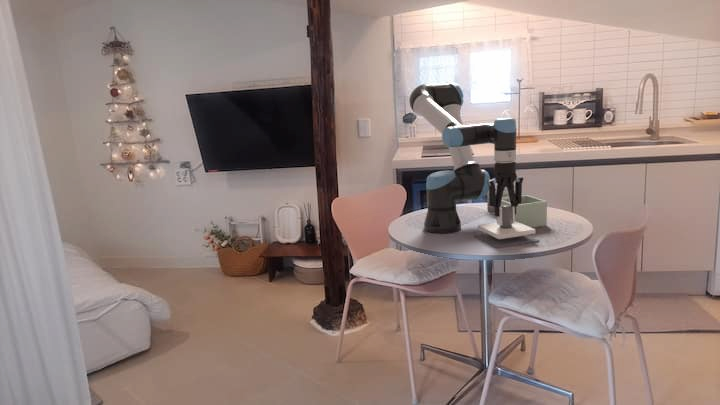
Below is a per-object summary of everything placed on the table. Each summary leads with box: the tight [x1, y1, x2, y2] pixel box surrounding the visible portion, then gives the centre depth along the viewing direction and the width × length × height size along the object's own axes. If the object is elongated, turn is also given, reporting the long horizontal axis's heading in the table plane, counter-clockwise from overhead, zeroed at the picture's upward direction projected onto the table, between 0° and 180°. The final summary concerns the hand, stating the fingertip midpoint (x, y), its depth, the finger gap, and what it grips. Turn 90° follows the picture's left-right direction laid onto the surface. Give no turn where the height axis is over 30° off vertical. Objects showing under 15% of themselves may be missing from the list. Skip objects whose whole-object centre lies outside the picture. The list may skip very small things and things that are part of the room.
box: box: [501, 194, 548, 228], centre depth 199 cm, size 14×14×10 cm
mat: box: [474, 232, 540, 249], centre depth 182 cm, size 17×17×1 cm
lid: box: [477, 205, 536, 239], centre depth 181 cm, size 15×15×10 cm
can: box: [486, 182, 509, 214], centre depth 223 cm, size 11×11×12 cm
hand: (505, 223), depth 181 cm, fingers closed on lid, 4 cm apart
